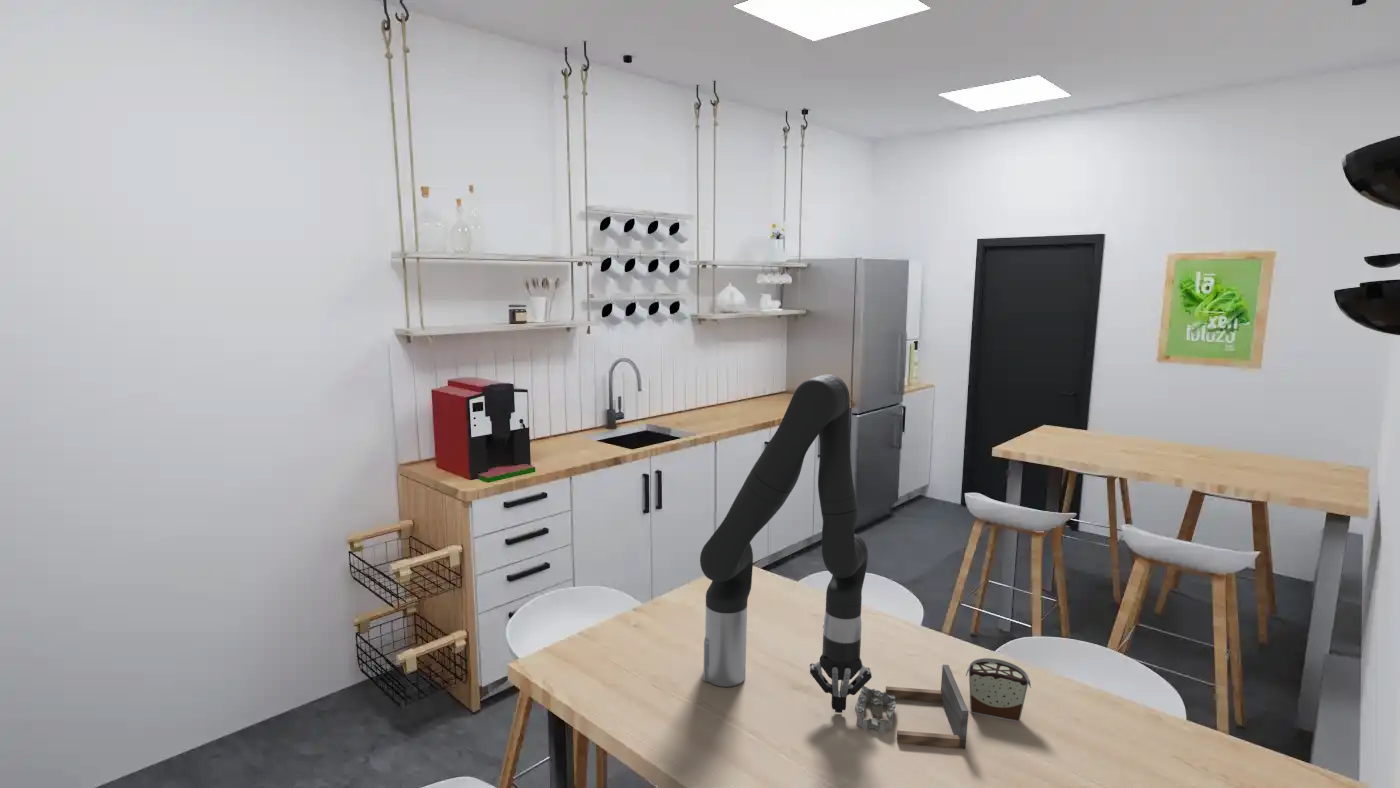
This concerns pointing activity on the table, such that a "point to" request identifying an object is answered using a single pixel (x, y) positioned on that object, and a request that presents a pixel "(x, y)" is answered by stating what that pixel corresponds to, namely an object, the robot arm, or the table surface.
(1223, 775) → the table surface
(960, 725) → the display stand
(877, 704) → the egg carton
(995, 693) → the food container
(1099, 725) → the table surface
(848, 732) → the table surface
